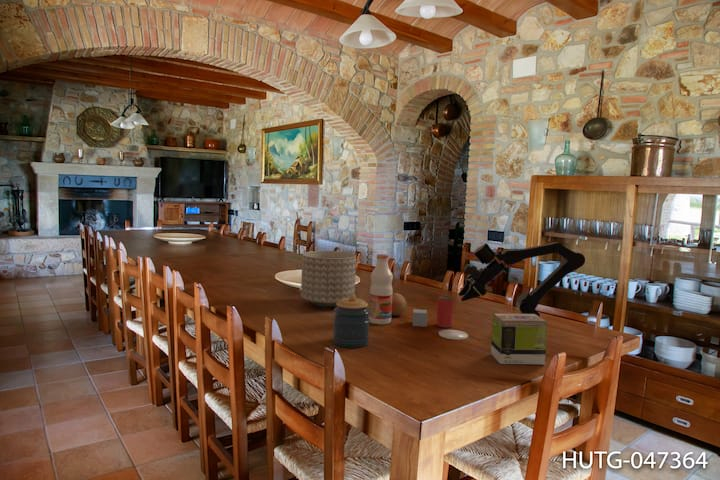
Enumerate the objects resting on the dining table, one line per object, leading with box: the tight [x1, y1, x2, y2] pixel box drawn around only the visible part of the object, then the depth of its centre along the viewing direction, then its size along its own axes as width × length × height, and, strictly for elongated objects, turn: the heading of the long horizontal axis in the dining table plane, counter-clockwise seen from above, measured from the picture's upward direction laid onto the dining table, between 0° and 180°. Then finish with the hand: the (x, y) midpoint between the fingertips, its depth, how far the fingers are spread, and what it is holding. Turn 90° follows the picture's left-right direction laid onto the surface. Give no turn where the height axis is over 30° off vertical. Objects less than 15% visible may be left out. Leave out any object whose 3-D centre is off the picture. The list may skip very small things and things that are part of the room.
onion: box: [391, 292, 408, 317], centre depth 206 cm, size 10×10×10 cm
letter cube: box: [412, 308, 428, 328], centre depth 194 cm, size 6×6×6 cm
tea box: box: [490, 312, 548, 366], centre depth 156 cm, size 15×10×15 cm
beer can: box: [435, 295, 454, 329], centre depth 193 cm, size 7×7×12 cm
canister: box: [332, 294, 371, 349], centre depth 167 cm, size 13×13×18 cm
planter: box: [300, 250, 357, 309], centre depth 220 cm, size 25×25×24 cm
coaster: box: [438, 329, 469, 341], centre depth 181 cm, size 11×11×1 cm
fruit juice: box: [368, 254, 394, 326], centre depth 195 cm, size 9×9×28 cm
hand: (460, 297), depth 192 cm, fingers open, 9 cm apart
